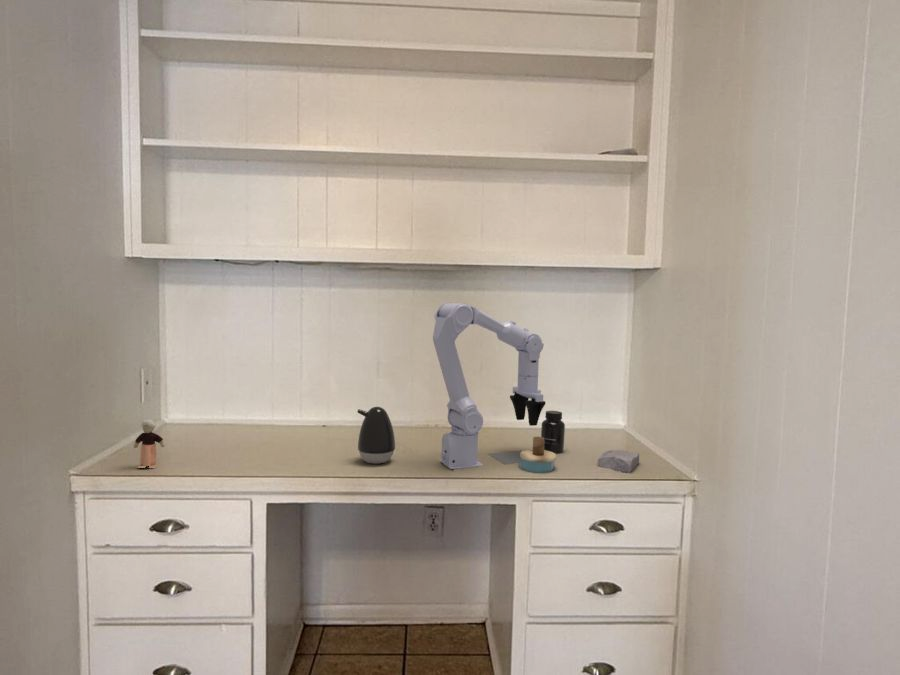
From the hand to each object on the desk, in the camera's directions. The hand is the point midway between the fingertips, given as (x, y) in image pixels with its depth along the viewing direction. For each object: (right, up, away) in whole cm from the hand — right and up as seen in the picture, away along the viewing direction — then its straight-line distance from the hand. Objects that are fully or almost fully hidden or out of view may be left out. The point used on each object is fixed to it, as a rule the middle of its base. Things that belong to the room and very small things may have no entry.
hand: (526, 422), depth 176 cm
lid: (+2, -8, -12) cm, 14 cm away
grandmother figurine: (-100, -10, -17) cm, 102 cm away
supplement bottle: (+8, -10, +6) cm, 14 cm away
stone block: (+24, -12, -6) cm, 27 cm away
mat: (-4, -10, -2) cm, 11 cm away
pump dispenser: (-42, -10, -7) cm, 44 cm away
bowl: (+1, -11, -11) cm, 16 cm away
